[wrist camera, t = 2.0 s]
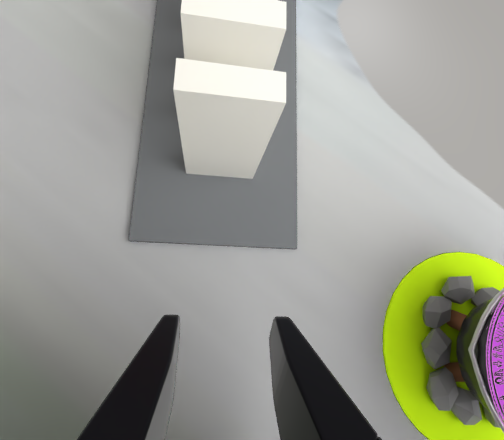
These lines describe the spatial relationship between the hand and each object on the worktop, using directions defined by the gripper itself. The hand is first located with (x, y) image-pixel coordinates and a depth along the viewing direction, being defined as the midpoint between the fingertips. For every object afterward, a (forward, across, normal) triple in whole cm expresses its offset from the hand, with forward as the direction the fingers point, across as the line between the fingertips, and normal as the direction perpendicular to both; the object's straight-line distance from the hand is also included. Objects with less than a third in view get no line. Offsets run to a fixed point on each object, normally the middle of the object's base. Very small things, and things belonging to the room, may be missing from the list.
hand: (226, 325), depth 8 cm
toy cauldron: (+8, -20, +12) cm, 25 cm away
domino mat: (+22, 0, -3) cm, 23 cm away
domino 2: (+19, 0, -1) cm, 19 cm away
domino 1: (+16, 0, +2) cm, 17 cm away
